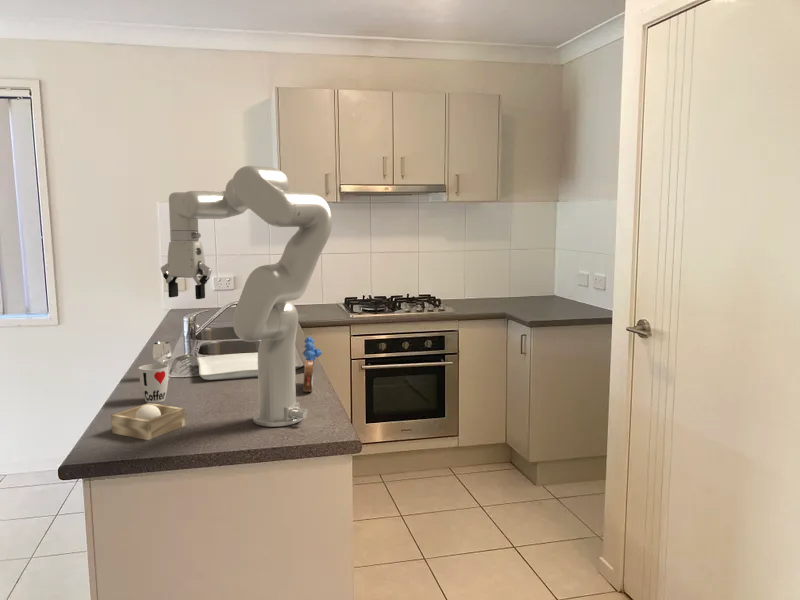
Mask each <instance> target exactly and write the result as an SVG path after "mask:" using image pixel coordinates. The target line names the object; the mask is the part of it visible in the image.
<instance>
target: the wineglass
mask: <svg viewBox="0 0 800 600" xmlns="http://www.w3.org/2000/svg"><path fill="white" fill-rule="evenodd" d="M152 357H153V360H154V361H156V362H158V363H160V364H165V363H166V362H169V360H170V359H171V358H172V347H171V344H170V342H169V341H158V342H154V344H153V347H152ZM169 380H171V377H169V376H168V381H169Z"/></svg>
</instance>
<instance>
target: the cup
mask: <svg viewBox="0 0 800 600" xmlns="http://www.w3.org/2000/svg"><path fill="white" fill-rule="evenodd" d="M169 367H170V365H169V364H167V363H164V364H162V363H152V364H151V363H150V364H143V365H141V366H139V367H138V376H139V383H140V389H141V392H142V395H143V397H144V400H145V402H146V404H147V403H153V404H157V403H161V402H164V401H165V400H166V397H167V391H168V385H169V380H168V377H169V373H170V372H169Z"/></svg>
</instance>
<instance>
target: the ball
mask: <svg viewBox="0 0 800 600" xmlns="http://www.w3.org/2000/svg"><path fill="white" fill-rule="evenodd" d="M143 405H144V404H143ZM160 415H161V412H160V410H159V409H158V408H157V407H156V406H154V405H144V406H142V407H141V408H139V409H138V411H137V413H136V416H135V418H139V419H145V420H149V419H152V418H155V417H157V416H160Z"/></svg>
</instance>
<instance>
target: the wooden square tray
mask: <svg viewBox="0 0 800 600" xmlns="http://www.w3.org/2000/svg"><path fill="white" fill-rule="evenodd" d="M144 405H154V406H156V407H157V408H158V409H159V410H160V412H161V415H160V416H157V417H155V418H152V419H149V420H145V419H139V418H135V416H136V413H137V411H138V409H139V408H141V407H142V406H144ZM185 416H186V414H185V408H183V407H176V406H170V405H164V404H160V403H159V404H157V403H147V402H146V403H145V404H141V405H138V406H136V407H133V408H129V409H126V410H123V411H120V412H117V413H114V414H110V417H111V418H110V420H111V421H110V422H111V434H116V435H120V436H124V437H125V436H126V437H131V438H135V439H141V440H146V441H150V440H152V439H155V438H157V437H160V436H162V435H164V434H167V433H169V432H172V431H176V430H177V429H181V428H183V427H185V426H186V421H185V420H186V419H185V418H186V417H185Z"/></svg>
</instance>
